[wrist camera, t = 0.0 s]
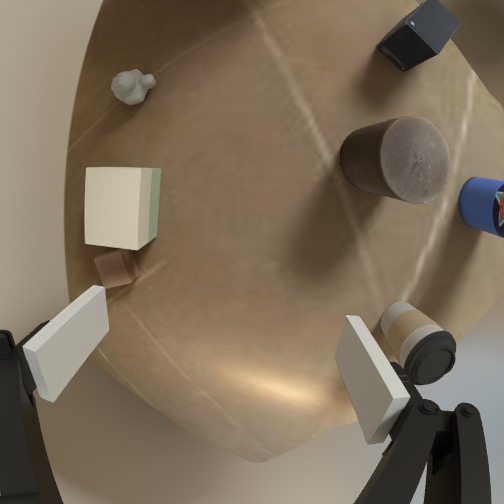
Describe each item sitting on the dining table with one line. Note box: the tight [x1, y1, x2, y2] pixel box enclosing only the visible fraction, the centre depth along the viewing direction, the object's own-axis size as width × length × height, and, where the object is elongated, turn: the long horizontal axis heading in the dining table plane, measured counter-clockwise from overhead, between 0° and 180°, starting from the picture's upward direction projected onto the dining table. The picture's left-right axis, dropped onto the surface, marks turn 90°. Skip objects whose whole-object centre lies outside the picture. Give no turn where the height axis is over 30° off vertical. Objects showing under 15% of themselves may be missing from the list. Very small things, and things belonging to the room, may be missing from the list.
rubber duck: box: [111, 69, 156, 105], centre depth 32 cm, size 5×7×8 cm
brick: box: [94, 248, 140, 289], centre depth 42 cm, size 5×5×4 cm
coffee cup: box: [380, 301, 456, 385], centre depth 39 cm, size 9×9×15 cm
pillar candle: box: [340, 116, 450, 204], centre depth 32 cm, size 10×10×15 cm
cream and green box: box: [85, 167, 161, 250], centre depth 37 cm, size 10×8×8 cm
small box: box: [377, 0, 460, 72], centre depth 28 cm, size 11×6×10 cm, turn 142°
